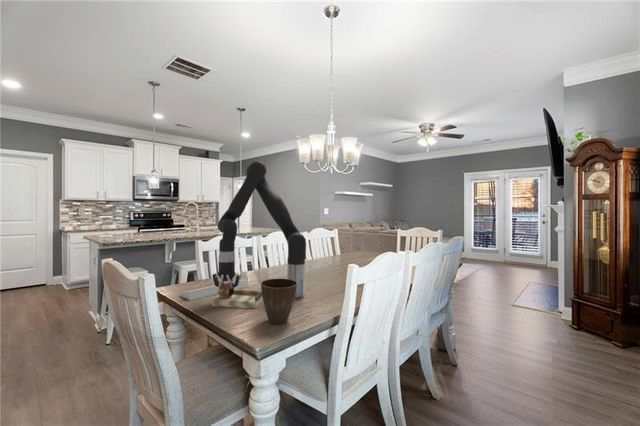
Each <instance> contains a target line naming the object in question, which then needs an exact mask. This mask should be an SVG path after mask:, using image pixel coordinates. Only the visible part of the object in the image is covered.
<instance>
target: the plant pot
mask: <svg viewBox="0 0 640 426" xmlns="http://www.w3.org/2000/svg"><path fill="white" fill-rule="evenodd" d="M296 287H297V282H296V281H294V280H290V279H287V278H269V279H265V280H263V281H261V282H260V289H261V290H260V291H262V297H263V301H262V302H263V307H264V310H265V314H266V317H267V319H268V322H269V323H270V324H273V325H283V324H286V323H287V322H288V319H289V317H290V314H291V311H292V307H293V305H294V301H295V299H296V298H295V293H296Z"/></svg>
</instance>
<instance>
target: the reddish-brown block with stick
mask: <svg viewBox="0 0 640 426" xmlns="http://www.w3.org/2000/svg"><path fill="white" fill-rule="evenodd" d="M217 293H218V294H217V295H219V299H228V298H230V297H231V296H230V285H229V283H228V282H227V281H225V282H224V284H222V285H221V286H219V291H218V292H217Z"/></svg>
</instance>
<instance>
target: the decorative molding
mask: <svg viewBox="0 0 640 426" xmlns="http://www.w3.org/2000/svg"><path fill="white" fill-rule="evenodd" d="M234 283H235V281H234ZM249 286H250V285H249V280H248V279H240V280H239V283H238V286H236V287H234V290H244V289H246V288H249ZM218 291H219V287H217V286H215V285H211V286H206V287H201V288H197V289H192V290H191V289H190V290H188V291H187V290H186V291H181V292H180V296H181V297H182V298H184V299H187V301H189V300H190V301H189V302H191V301H195V299H196V300H199V299H204V298H208V297H213V296H218V295H219V294H218V293H217V292H218Z"/></svg>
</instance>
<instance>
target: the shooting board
mask: <svg viewBox="0 0 640 426" xmlns="http://www.w3.org/2000/svg"><path fill="white" fill-rule="evenodd" d="M211 300H212V302H211V305H212V307H222V308H240V309H241V308H242V309H257V308H258V307H259V306H260V305H261V304H262V302H263V297H262V290H252V289H239V290H234V294H233V295H232V296H231V297H230V298H228V299H219V294H217V295H216V296H215V297H214V298H213V299H211Z"/></svg>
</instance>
